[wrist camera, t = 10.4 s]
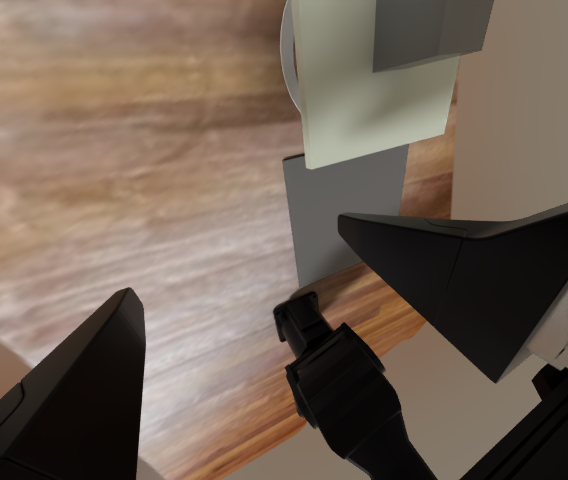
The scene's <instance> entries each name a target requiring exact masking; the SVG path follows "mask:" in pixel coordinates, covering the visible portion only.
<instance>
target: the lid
mask: <svg viewBox="0 0 568 480" xmlns="http://www.w3.org/2000/svg"><path fill="white" fill-rule="evenodd" d="M493 2H494V0H291V5H292V17H293V28H294V39H295V50H296V61H297V72H298V84H299V95H300V106H301V117H302V128H303V139H304V151H305V162H306V168H308V169H311V170H312V169H315V168H319V167H323V166H327V165H330V164H334V163H338V162H341V161H345V160H349V159H353V158H356V157H360V156H364V155H367V154H371V153H375V152H379V151H382V150H386V149H390V148H393V147H397V146H401V145H405V144H408V143H412V142H416V141H419V140H423V139H427V138H431V137H434V136H438V135H442V134H444V131H445V126H446V122H447V117H448V112H449V108H450V103H451V98H452V93H453V89H454V84H455V79H456V74H457V70H458V65H459V60H460V56H461V55H465V54H469V53H473V52H477V51H481V50H482V46H483V42H484V38H485V34H486V30H487V26H488V22H489V18H490V14H491V10H492V6H493Z"/></svg>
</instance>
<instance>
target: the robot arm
mask: <svg viewBox="0 0 568 480" xmlns="http://www.w3.org/2000/svg"><path fill="white" fill-rule="evenodd" d="M337 225H338V233H339V235H340V236H341V237H342V239H343V240H344V241H345V242H346V243H347V244H348V245H349V247H350V248H351V249H352V250H353V251H354V252H355V253H356V255H357V256H358V257H359V258H360V259H361V260H363V261H364V262H365V263H366V264H367V265H368V266H369V267H370V268H371V269H372V270H373V271H374V272H375V273H377V274H378V275H379V276H380V277H381V278H382V279H383V280H384V281H385V282H386V283H387V284H388V285H389V286H390V287H392V288H393V289H394V290H395V291H396V292H397V293H398V294H399V295H400V296H401V297H402V298H403V299H404V300H405V301H407V302H408V303H409V304H410V305H411V306H412V307H413V308H414V309H415V310H416V311H417V312H418V313H419V314H420V315H422V316H423V317H424V318H425V319H426V320H427V321H428V322H429V323H430V324H431V325H432V326H434V327H435V329H436V330H438V332H440V333H441V334H442V335H443V336H444V337H445V338H446V339H447V340H448V341H449V342H450V343H451V344H452V345H454V346H455V347H456V348H457V349H458V350H459V351H460V352H461V353H462V354H463V355H464V356H465V357H466V358H467V359H468V360H470V361H471V362H472V363H473V364H474V365H475V366H476V367H477V368H478V369H479V370H480V371H481V372H482V373H484V374H485V375H486V376H487V377H488V378H489V379H490V380H491V381H493V382H494V383H498V382H499V381H500V380H501V379H503V378H504V377H505V376H506V375H507V374H509V373H510V372H511V371H512V370H513V369H515V368H516V367H517V366H518V365H520V364H521V363H522V362H523V361H524V360H525V359H527V358H528V357H529V356H530V355H532V354H535V355H536V356H538V357H539V358H541V359H543V360H544V361H546V362H547V363H548V364H547V365H545V366H544V367H543V368H542V369H541V370H540V371H539V372H538V373H537V374H536V376H535V377H534V378H533V379H532V382H533V384H534V386H535V388H536V390H537V392H538V394H539V396H540V398H541V399H542V401H541V402H540V403H539V404H538V405H537V406H536V407H535V408H534V409H533V410H532V411H531V412H530V413H529V414H528V415H527V416H525V418H523V419H522V421H520V422H519V423H518V424H517V425H516V426H515V427H514V428H513V429H512V430H511V431H510V432H509V433H508V434H507V435H506V436H505V437H504V438H502V439H501V440H500V441H499V442H498V443H497V444H496V445H495V446H494V447H493V448H492V449H491V450H490V451H489V452H488V453H487V454H486V455H485V456H484V457H483V458H482V459H481V460H479V461H478V462H477V463H476V464H475V465H474V466H473V467H472V468H471V469H470V470H469V471H468V472H467V473H466V474H465V475H464V476H463V477H462V478H461V479H460V480H568V203H567V204H564V205H560V206H558V207H555V208H552V209H549V210H546V211H543V212H540V213H537V214H535V215H532V216H529V217H526V218H523V219H519V220H513V221H503V222H502V221H471V220H447V219H432V218H418V217H404V216H391V215H377V214H363V213H350V212H345V213H342V214H339V215H338V218H337ZM273 315H274V319H275V323H276V327H277V332H278V336H279V339H280V341H281V342H285V341H287V342H288V344H289V346H290V348H291V350H292V351H293V353H294V355H295V357H296V360H295V361H294V362H292V363H291V364H290V365H289V364H288V365H287V366H286V367H285V369H286V372H287V374H286V375H287V376H286V378H287V380H288V382H289V384H290V387H291V389H292V392H293V396H294V401H295V405H296V409H297V413H298V414H299V416H300V417H303V418H306V420H307V421H308V422H309V423H310V425H311V426H312V427H313V428H314V429H316V428H317V427H319V429H320V431H321V433H322V435H323V436H324V438H325V440H326V442H327V444H328V445H329V447H330V448H331V449H332V450H333V451H334V452H335V453H336V454H337V455H339V456H340V457H341V458H342V459H347V460H348V461H349V462H351V463H352V464H354V465H355V466H357V467H358V468H359V469H361V470H362V471H364V472H365V473H367V474H368V475H369V476H370V478H371V480H438V479H437V478H436V477H435V475H434V474H433V472H432V471H431V470H430V469H429V467H428V466H427V464H426V463H425V462H424V460H423V459H422V457H421V456H420V455H419V454H418V452H417V451H416V449H415V448H414V447H413V445H412V444H411V442H410V441H409V439H408V435H407V432H406V428H405V424H404V420H403V416H402V412H401V410H402V409H401V405H400V402H399V399H398V396H397V394H396V391H395V389H394V388H393V387H392V385H391V384H390V383H389V381H388V380H387V379H386V378H385V376H384V375H383V373H384V372H385V368H384V366H383V364H382V363H381V361H380V360H379V359H378V357H377V356H376V355H375V353H374V352H373V351H372V350H371V348H370V347H369V346H368V345H367V344H366V343H365V342H364V341H363V340H362V339H361V338H360V337H359V336H358V335H357V334H356V333H355V332H354V331H353V330H352V329H351V328H350V327H349V326H348V325H347V324H346V323H345V322H344V323H342V324H341V326H340V327H338V328H337V329H336V330H333V328H332V327H331V326H330V324H329V323H328V322H327V321H326V319H325V318H324V317H323V316H322V314H321V313H320V312H319V307H318V295H317V293H316V292H312V293H310V294H307V295H305V296H303V297H301V298H298V299H296V300H294V301H292V302H290V303H287V304H285V305H283V306H281V307H278V308H276V309H275V310H274V311H273ZM145 352H146V336H145V321H144V308H143V304H142V302H141V301H140V299H139V298H138V296H137V295H136V293H135V292H134V290H133V289H132V288H130V287H128V288H125V289H122V290H119V291H117V292H116V293H114V294H113V295H112V296H111V297H110V298H109V299H108V300H107V301H106V302H105V303H104V304H103V305H102V306H100V307H99V308H98V309H97V310H96V311H95V312H94V313H93V314H92V315H91V316H90V317H89V318H87V319H86V320H85V321H84V322H83V323H82V324H81V325H80V326H79V327H78V328H77V329H76V330H75V331H73V332H72V333H71V334H70V335H69V336H68V337H67V338H66V339H65V340H64V341H63V342H62V343H60V344H59V345H58V346H57V347H56V348H55V349H54V350H53V351H52V352H51V353H50V354H49V355H48V356H46V357H45V358H44V359H43V360H42V361H41V362H40V363H39V364H38V365H37V366H36V367H35V368H33V369H32V370H31V371H30V372H29V373H28V374H27V375H26V376H25V377H24V378H23V379H22V380H21V382H20V383H17V384H16V385H15V386H14V387H13V388H12V389H11V390H10V391H9V392H7V393H6V394H5V395H4V396H3V397H2V398H1V399H0V480H136V472H137V459H138V446H139V432H140V419H141V406H142V392H143V379H144V365H145Z"/></svg>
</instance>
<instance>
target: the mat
mask: <svg viewBox="0 0 568 480" xmlns="http://www.w3.org/2000/svg"><path fill="white" fill-rule="evenodd" d="M408 148H409V143H408V144H405V145H401V146H397V147H393V148H390V149H386V150H382V151H379V152H375V153H371V154H367V155H364V156H360V157H356V158H353V159H349V160H345V161H341V162H338V163H334V164H330V165H327V166H323V167H319V168H315V169H312V170H311V169H308V168H306V162H305V155H303V156H299V157H295V158H291V159H287V160H282V161H283V169H284V176H285V183H286V191H287V198H288V206H289V213H290V221H291V228H292V235H293V243H294V250H295V258H296V265H297V272H298V280H299V287H300V288H303V287H305V286H308V285H310V284H312V283H315V282H317V281H319V280H321V279H324V278H326V277H328V276H331V275H333V274H335V273H337V272H340V271H342V270H344V269H347V268H349V267H351V266H354V265H356V264H358V263H360V262H363V260H361V259H360V258H359V257H358V256H357V255H356V253H355V252H354V251H353V250H352V249H351V248H350V247H349V245H348V244H347V243H346V242H345V241H344V240H343V239H342V237H341V236H340V235H339V233H338V225H337V218H338V215H339V214H342V213H345V212H350V213H363V214H377V215H391V216H399V210H400V203H401V196H402V189H403V182H404V175H405V168H406V161H407V154H408Z"/></svg>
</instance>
